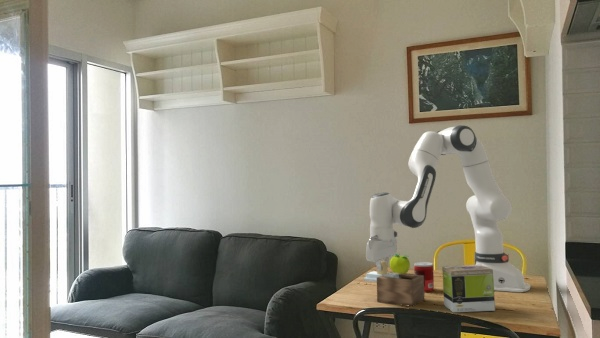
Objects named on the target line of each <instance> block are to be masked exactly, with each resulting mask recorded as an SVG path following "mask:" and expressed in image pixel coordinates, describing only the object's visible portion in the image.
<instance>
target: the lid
mask: <svg viewBox="0 0 600 338" xmlns="http://www.w3.org/2000/svg"><path fill="white" fill-rule="evenodd" d="M381 265H382V266H383V270H381V271H377V270H376V271H375V270H372V271H370V272H367V273H365V274H366V275H365V277H363V282H370V283H371V282H373V283H377V277H380V276H381V277H390V278H399V279H402V277H399V274H396V273H394V272H393V273H390V272H388V267H389V265H388V266H387V262H383V261H382V260H381Z"/></svg>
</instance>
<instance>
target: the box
mask: <svg viewBox="0 0 600 338" xmlns="http://www.w3.org/2000/svg"><path fill="white" fill-rule="evenodd" d="M389 273H394V272H393V271H391V272H389ZM396 274H399V277H402V279H399V278H390V277H381V276H380V277H377V282H376V297H377V298H376V299H377V300H376V302H377V303H383V304H391V305H396V304H402V305H401V306H403V305H409V306H408V307H410V306H412V307H414V306H416V305H418V304H420V303H421V302H423V301H425V292H424V276H422V275H415V274H411V273H406V274H403V273H396ZM419 302H420V303H419ZM417 303H418V304H417ZM415 304H416V305H415ZM413 305H414V306H413Z"/></svg>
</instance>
